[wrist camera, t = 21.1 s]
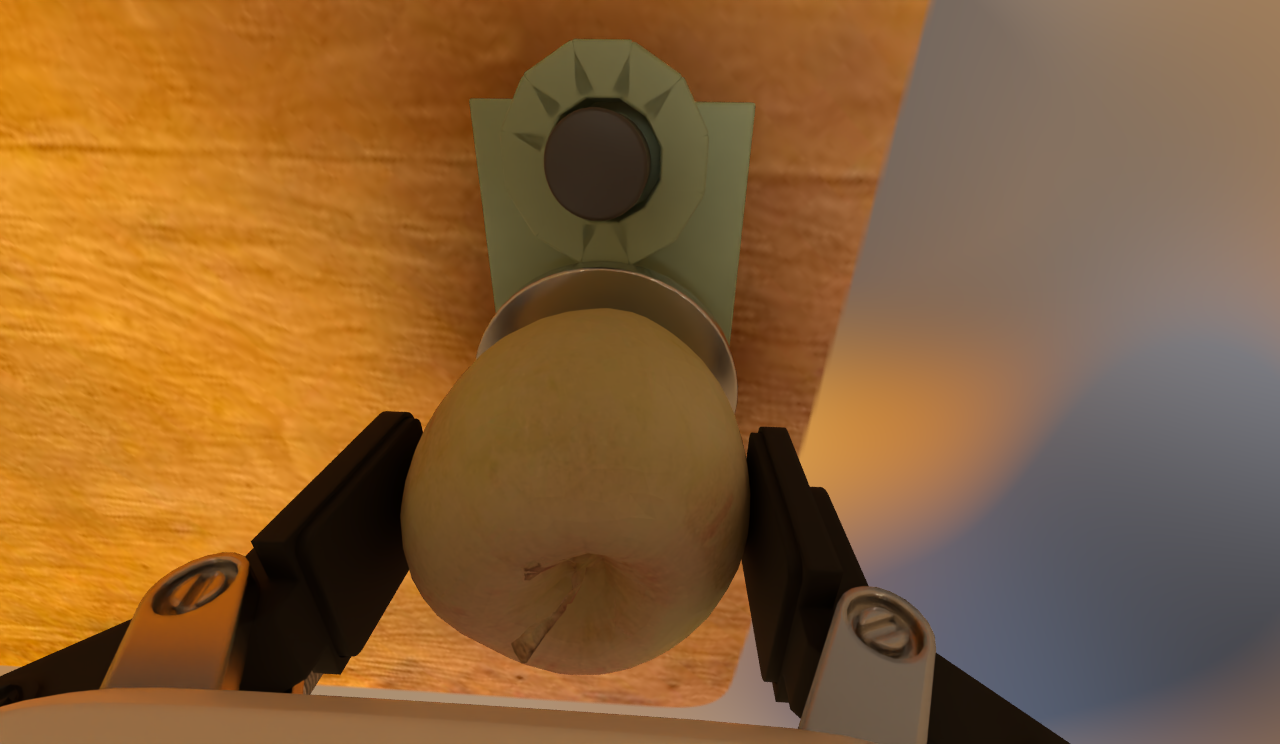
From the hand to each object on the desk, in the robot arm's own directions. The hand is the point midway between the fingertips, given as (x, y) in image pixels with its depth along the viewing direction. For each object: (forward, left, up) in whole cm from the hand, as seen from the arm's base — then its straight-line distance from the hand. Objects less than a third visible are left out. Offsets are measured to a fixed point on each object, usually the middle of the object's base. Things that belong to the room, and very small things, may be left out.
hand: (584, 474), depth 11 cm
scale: (0, 0, -8) cm, 8 cm away
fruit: (0, 0, -3) cm, 3 cm away
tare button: (0, -6, -5) cm, 8 cm away
